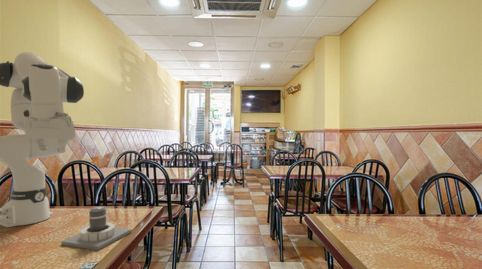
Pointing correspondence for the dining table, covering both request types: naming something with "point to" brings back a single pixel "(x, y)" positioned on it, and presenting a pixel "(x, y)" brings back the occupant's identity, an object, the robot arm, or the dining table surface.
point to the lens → (97, 219)
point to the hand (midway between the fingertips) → (51, 151)
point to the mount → (96, 237)
